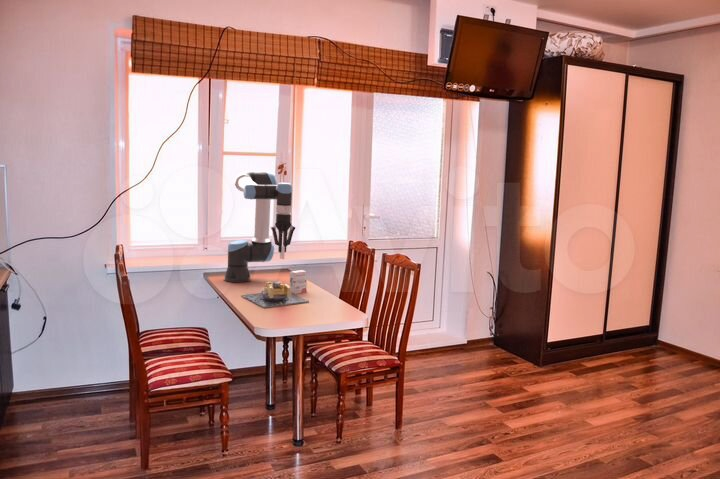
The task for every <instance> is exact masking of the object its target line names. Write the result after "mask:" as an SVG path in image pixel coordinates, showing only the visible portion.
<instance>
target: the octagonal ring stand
mask: <svg viewBox="0 0 720 479" xmlns="http://www.w3.org/2000/svg"><path fill="white" fill-rule="evenodd" d="M271 282H272V281H266V282H265V285H264V286H263V290H264V292H265V293H267V294H268V296H269V297H270V298H273V295H279V294H285V295H286V297H290V285H288V284H284V283H283V281H278V282H280V285H279V288H274V285H272V284H271Z"/></svg>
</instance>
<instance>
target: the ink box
mask: <svg viewBox="0 0 720 479" xmlns="http://www.w3.org/2000/svg"><path fill="white" fill-rule="evenodd" d="M307 273H308V272H307V271H306V270H294V271H289V287H290V293H292V294H294V295H296V294H297V295H298V294H302V293H303V294H304V293H307Z"/></svg>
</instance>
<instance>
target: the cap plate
mask: <svg viewBox="0 0 720 479" xmlns="http://www.w3.org/2000/svg"><path fill="white" fill-rule="evenodd" d="M270 282H271V284H272V285H274V288H279V285H280V282H281V281H280V282H279V281H270ZM240 297H242V298H244V299H246V300H247V301H249V302H251V303H253V304H255V305H257V306H259V307H261V308H263V309H269V308H270V309H271V308H276V307H283V306H284V307H286V306H292V305H299V304H307V303H308V304H309V303H310V300H308V299H305V298H303V297H302V296H298V294H297V295H296V294H293V293H290V297H286V295H285V294H279V295H273V298H270V297H269V296H268V294H267V293H265V292H264V289H263V290H261V292H260V293H259V292H257V293H249V294H248V293H247V294H241V296H240Z"/></svg>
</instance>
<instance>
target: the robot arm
mask: <svg viewBox="0 0 720 479" xmlns="http://www.w3.org/2000/svg"><path fill="white" fill-rule="evenodd" d="M234 186H235V188H236V189H237V190H238V191H240V192H243V198H244V199H246V200H255V213H254V214H255V215H254V236H253V237H252V238H251V242H249V241H248V239H243V240H242V239H240V240H233V241H231V242H229V243H228V244H227V245H228V246H227V268H226V271H225V273H224V281H226V282H230V283H246V281H247V282H249V280H250V281H251V274H250V271H249V267H248V265H249V263H267V262H270V261H272V260H273V257H274V254H275V252H274V251H275V245H276V246H278V253H279V259H281V260H284V259H285V253H287V248H288V246H290V245H291V243H292V242H291V241H292V238H293V234H294V231H295V230H296V227H295V226H293V225H292V222H291V221H292V214H291V213H292V200H293V199H292V196H293V186H292V184H291V183H289V182H278V183H277V178H276V175H275V174H274V173H273V172H272V171H271V172H270V171H249V170H248V171H244V172H241V173H239V174H237V176H236V177H235V179H234ZM271 200H275V201H276V207H275V208H276V215H275V223H274V224H273V226H270V221H271V219H270V218H271ZM270 229H271V231H272V236H273V241H274V243H273V242H272V239H271V238H270ZM277 230H278V232H277ZM277 233H278V234H277Z"/></svg>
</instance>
